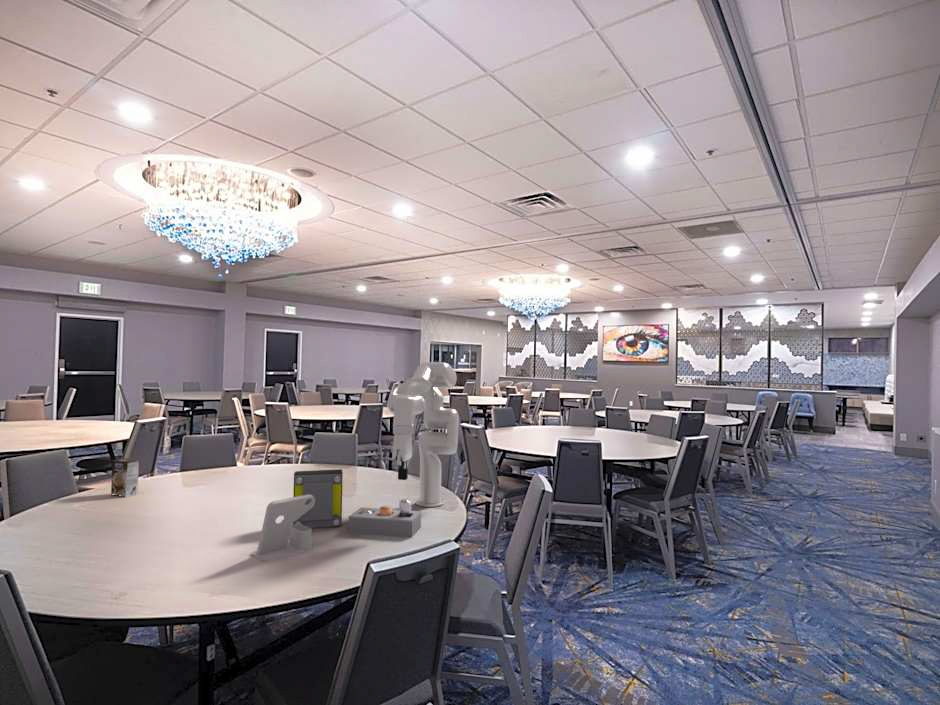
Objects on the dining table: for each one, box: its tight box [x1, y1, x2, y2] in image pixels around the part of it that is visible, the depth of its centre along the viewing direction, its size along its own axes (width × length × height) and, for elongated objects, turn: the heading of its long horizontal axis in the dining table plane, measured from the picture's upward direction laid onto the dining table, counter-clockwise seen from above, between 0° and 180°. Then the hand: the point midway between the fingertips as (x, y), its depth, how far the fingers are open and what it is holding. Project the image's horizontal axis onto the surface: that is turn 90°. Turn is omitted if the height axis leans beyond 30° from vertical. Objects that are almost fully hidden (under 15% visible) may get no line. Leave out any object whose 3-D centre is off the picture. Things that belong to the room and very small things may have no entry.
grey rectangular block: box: [348, 507, 422, 538], centre depth 194 cm, size 12×24×6 cm, turn 80°
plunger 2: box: [398, 498, 412, 517], centre depth 193 cm, size 4×4×5 cm
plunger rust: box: [379, 505, 393, 516], centre depth 194 cm, size 4×4×5 cm
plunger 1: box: [360, 509, 372, 515], centre depth 196 cm, size 4×4×5 cm
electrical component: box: [292, 468, 343, 529], centre depth 199 cm, size 18×10×20 cm, turn 105°
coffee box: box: [110, 458, 140, 497], centre depth 240 cm, size 9×6×16 cm
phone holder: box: [251, 494, 315, 563], centre depth 171 cm, size 17×10×18 cm, turn 138°
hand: (402, 479), depth 194 cm, fingers closed
